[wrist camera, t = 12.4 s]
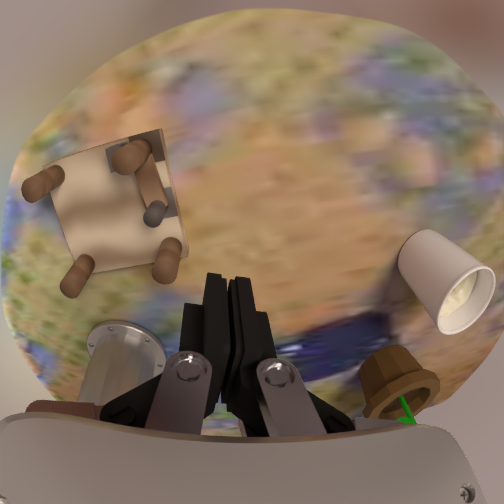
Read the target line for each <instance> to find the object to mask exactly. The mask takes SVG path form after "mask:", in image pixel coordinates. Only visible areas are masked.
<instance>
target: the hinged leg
mask: <svg viewBox="0 0 504 504" xmlns="http://www.w3.org/2000/svg"><path fill="white" fill-rule="evenodd" d="M111 163H112V167H113V169H114V170H115V171H116V172H117V173H118V174H120V175H130V174H132V173H133V172H134V174H135V176H136V179H137V182H138V185H139V188H140V190H141V193H142V196H143V199H144V201H145V204H146V207H147V210H146V212H145V213H144V215H143V221H144V223H145V224H146V225H147V226H148V227H151V228H155V227H158V226H159V225H160V224H161V222H162V220H163V218H164V215H165V213H166V211H167V208H168V199H167V196H166V193H165V190H164V187H163V184H162V182H161V179H160V176H159V173H158V170H157V167H156V164H155V161H154V158H153V155H152V145H151V143H150V142H149V141H148V140H146V139H143V138H139V139H136V140H134V141H132V142H130V143H128V144H126V145H124V146H123V147H121V148H119V149H117V150H116V151H115V152H114V154H113V155H112V159H111Z"/></svg>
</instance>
